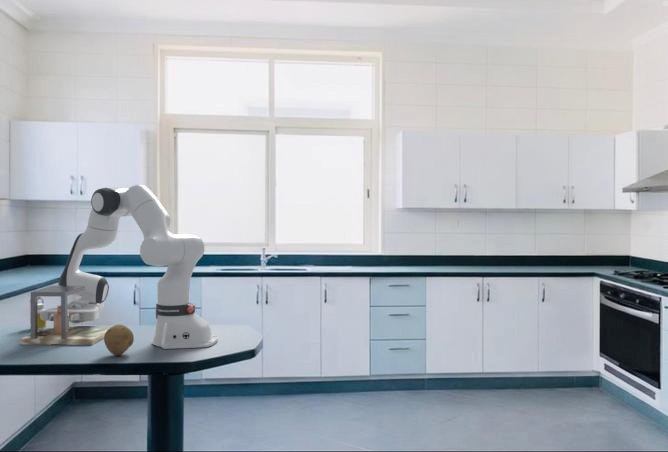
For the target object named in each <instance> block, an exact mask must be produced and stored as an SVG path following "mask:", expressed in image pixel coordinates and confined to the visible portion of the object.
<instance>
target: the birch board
mask: <svg viewBox="0 0 668 452" xmlns="http://www.w3.org/2000/svg"><path fill="white" fill-rule="evenodd" d="M108 329H109V328H81V327H80V328H75V327H74V328H72V327H71V328H70V327H69V333H68V338H67V339H61V335H54V327H53V328H51V327H50V328H49V327H46V328H45V329H41V330H38V338H36V339H31V334H29V335H26V336H24V337H22V338H20V345H34V346H35V345H42V346H43V345H44V346H45V345H47V346H49V345H50V346H51V344H66V345H67V346H69V345H70V346H71V345H73V346H74V345H75V346H80V345H81V346H83V345H84V346H93V345H96V344H97V343H98V342H100V341H102V340H104V335H105V333H106V331H107V330H108ZM66 345H65V346H66Z"/></svg>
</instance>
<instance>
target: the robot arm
mask: <svg viewBox="0 0 668 452" xmlns="http://www.w3.org/2000/svg"><path fill="white" fill-rule="evenodd" d="M90 203H91V209H90V213H89V217H88V220H87V221H88V222H87V226H86V228H85V231H84V232H82V233H79V234H78V235H77V236H76V238H75V240H74V242H73V244H72V246H71V247H72V248H71V250H70V252H69V255H68V258H67V260H66V264H65V266H64V269H63V270H62V273H61V274H60V277H59V278H58V284H57V286H85V290H83V291H80V292H77V293H74V294H71V295H74V296H78V297H80V298H78V299H76V300H72V301H70V302H69V303H68V312H69V316H68V321H69V323H73V324H81V323H85V322H92V321H94V322H95V321H99V320H101V314H102V313H101V312H102V310H103V309H104V306H105V301H106V299H107V297H108V295H109V290H110V289H109V288H110V286H109V283H108V281H107V278H106V277H104V276H101V275H98V274H94V273H93V274H92V273H88V272H85V271H81V270H80V269H79V268H80V264H81V263H82V260H83V256H84V254H85V252H86V251H87V250H94V249H102V248H105V247H108V246H110V245H111V244H113V243H114V242H115V240H116V239H117V234H118V229H119V224H120V223H119V222H120V219H121V217H130V216H132V218H133V220H134V221H135V222H136V224H137V226H138V228H139V229H140V231H141V232H142V233H141V234H142V236H143V241H142V243H141V245H140V249H139V255H140V258H141V260H142V261H143V262H144V264H146V265H149V266H153V267H166V266H167V269H166V271H165V273H164V274H163V276H161V277H160V278H159V279H158V281H157V285H156V286H157V291H156V293H157V295H156V297H157V302H156V305H155V306H156V307H155V319H156V325H155V330H154V336H153V339H152V345H153V346H156V347H160V348H161V349H163V350H173V349H192V348H193V349H195V348H208V347H211V346H214V345H215V344H216V343H217V342H218V337H217V336H216V334H212V329H211V325H210V323H209V322H208V321H207V320H205V319H204V318H203V317H201V316H200V315H199V314H197V313H196V303H194V304H193V303H192V302H191V301H190V293H191V291H190V289H191V280H192V279H191V278H192V275H193V271H194V269H195V268H196V267H195V266H196V265H197V263H198V261H199V260H200V259H201V258H203V256H204V253H205V243H204V240H203V239H202V238H201V237H200V236H198V235H195V234H190V233H177V234H176V233H175V234H174V233H172V232H170V230H169V227H170V226H171V219H172V218H171V216H170V215H169V213H168V212H167V210H166V208H165V207H164V206H163V204H162V203H161V202H160V200H159V199H158V197H157V196H156V195H155V194H154V193H153V191H151V189H149V188H148V187H147V186H146V185H143V184H134V185H131V186H130V187H101V188H98V189H96V190H95V191H94V192H93V193H92V196H91V199H90ZM56 312H57V307H52V308H51V307H50V308H47V309H46V308H45V310H43V311H41V313H40V318H41V320H43V321H46V322H47V321H49V322H54V313H56Z"/></svg>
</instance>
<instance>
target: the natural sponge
mask: <svg viewBox="0 0 668 452" xmlns="http://www.w3.org/2000/svg"><path fill="white" fill-rule="evenodd" d="M107 329H108V330H107V331H106V333H105V335H104V339H103V341H104V344H105V347H106V349H107V351H109V352H110V354H112V355H113V356H116V357H118V356H122V355H123V354H124V353H126V352H127V350H129V348H130V347H132V345H133V343H134V341H135V339H134V334H133V331H132V330H131V329H130V328H129V327H128V326H126V325H123V324H115V325H113V326H111V327H109V328H107Z"/></svg>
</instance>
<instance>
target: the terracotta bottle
mask: <svg viewBox="0 0 668 452" xmlns="http://www.w3.org/2000/svg"><path fill="white" fill-rule="evenodd" d="M56 308H57V312H56V313H54V321H53V328H54V335H61V305H57V306H56ZM68 316H69V312H68ZM69 328H70V321H68V333H69Z"/></svg>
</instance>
